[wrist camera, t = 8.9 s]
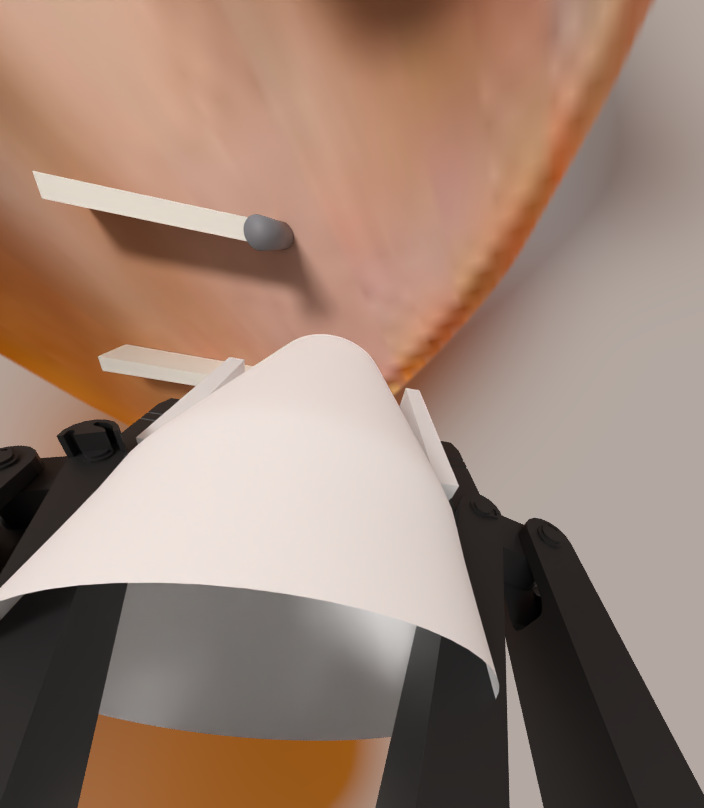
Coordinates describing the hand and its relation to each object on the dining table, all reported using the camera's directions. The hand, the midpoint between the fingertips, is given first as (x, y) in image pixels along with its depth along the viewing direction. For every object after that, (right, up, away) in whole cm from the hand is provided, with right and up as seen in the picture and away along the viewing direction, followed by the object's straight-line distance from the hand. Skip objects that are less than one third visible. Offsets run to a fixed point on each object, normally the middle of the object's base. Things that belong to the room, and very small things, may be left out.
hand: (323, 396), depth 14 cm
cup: (0, 0, +1) cm, 1 cm away
